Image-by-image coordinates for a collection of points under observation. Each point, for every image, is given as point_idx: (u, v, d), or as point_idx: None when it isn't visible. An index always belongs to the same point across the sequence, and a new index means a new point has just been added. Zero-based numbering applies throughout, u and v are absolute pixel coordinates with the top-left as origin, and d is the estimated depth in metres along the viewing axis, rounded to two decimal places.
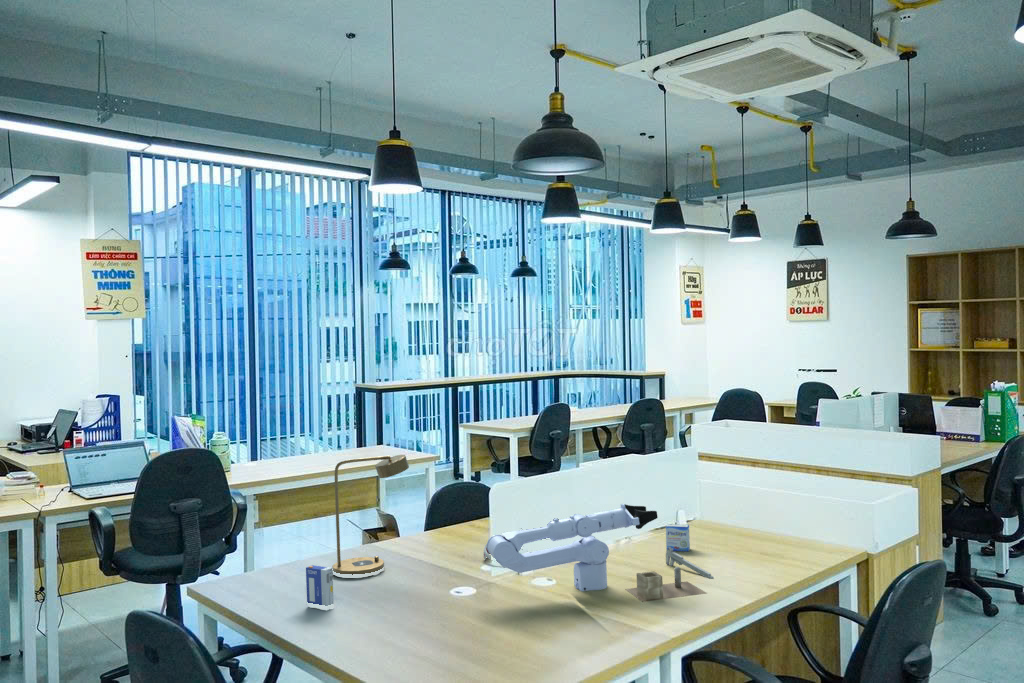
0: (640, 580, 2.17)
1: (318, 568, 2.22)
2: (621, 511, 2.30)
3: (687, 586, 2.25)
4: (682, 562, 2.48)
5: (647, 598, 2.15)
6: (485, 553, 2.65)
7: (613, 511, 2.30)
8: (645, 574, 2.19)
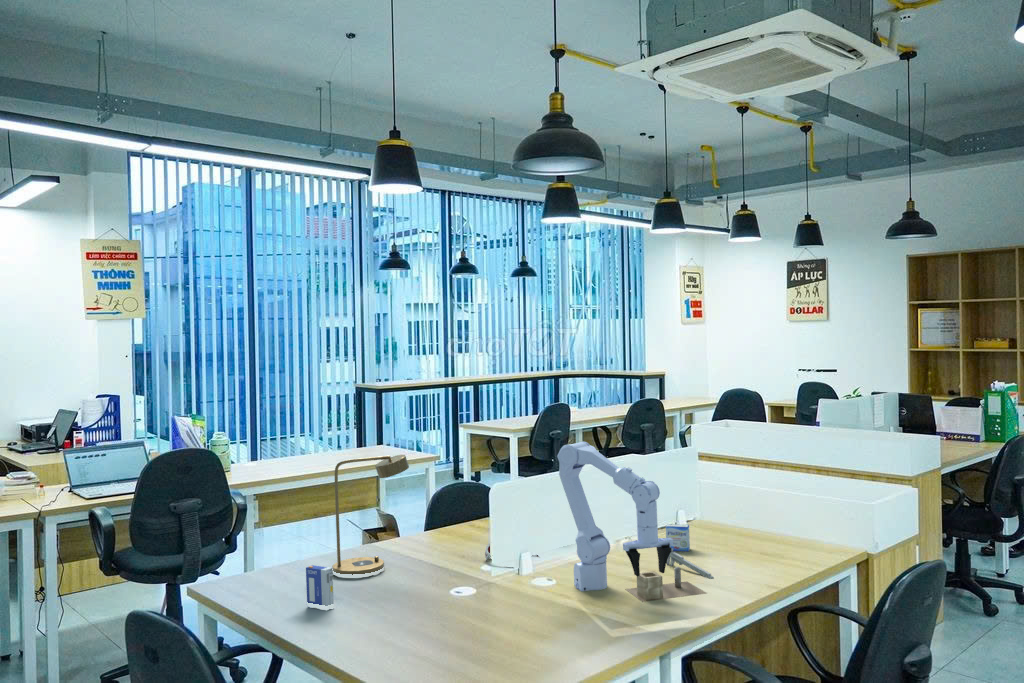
0: (640, 580, 2.17)
1: (318, 568, 2.22)
2: (646, 539, 2.15)
3: (687, 586, 2.25)
4: (682, 562, 2.48)
5: (647, 598, 2.15)
6: (487, 553, 2.65)
7: (648, 531, 2.15)
8: (645, 574, 2.19)
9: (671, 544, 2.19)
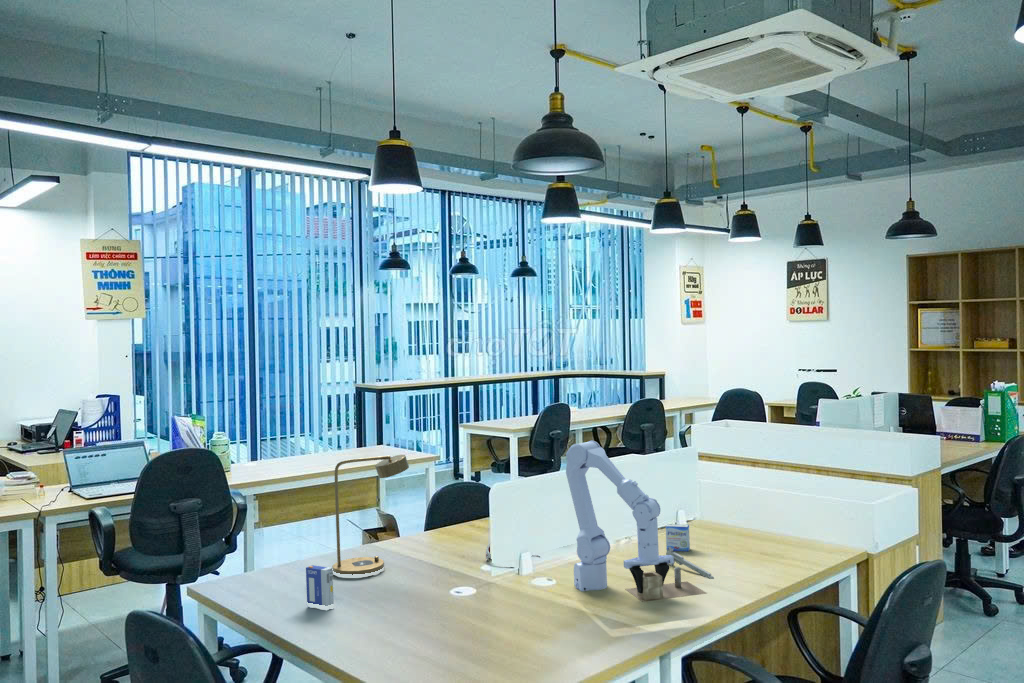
0: None
1: (318, 568, 2.22)
2: (647, 557, 2.15)
3: (687, 586, 2.25)
4: (682, 562, 2.48)
5: (647, 598, 2.15)
6: (487, 553, 2.65)
7: (648, 549, 2.15)
8: (645, 574, 2.19)
9: (672, 561, 2.19)
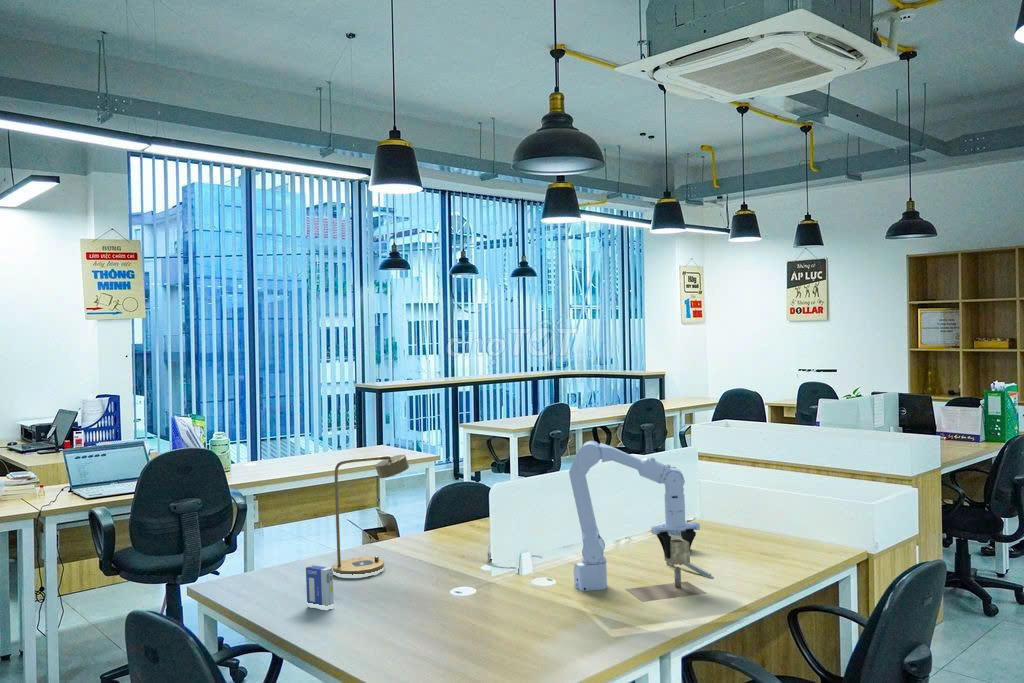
0: None
1: (318, 568, 2.22)
2: (674, 523, 2.23)
3: (687, 586, 2.25)
4: None
5: (675, 563, 2.22)
6: (489, 554, 2.64)
7: (675, 515, 2.23)
8: (672, 540, 2.27)
9: (698, 528, 2.26)
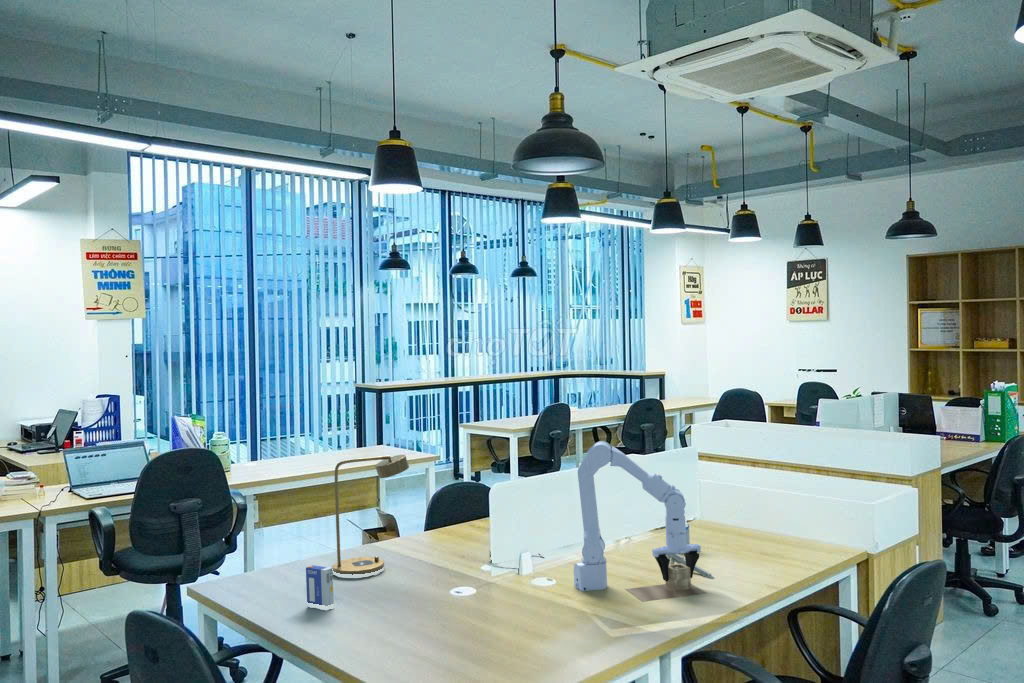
0: (668, 572, 2.24)
1: (318, 568, 2.22)
2: (675, 546, 2.22)
3: None
4: (682, 562, 2.47)
5: (676, 589, 2.22)
6: None
7: (676, 538, 2.22)
8: (673, 566, 2.27)
9: (699, 550, 2.26)
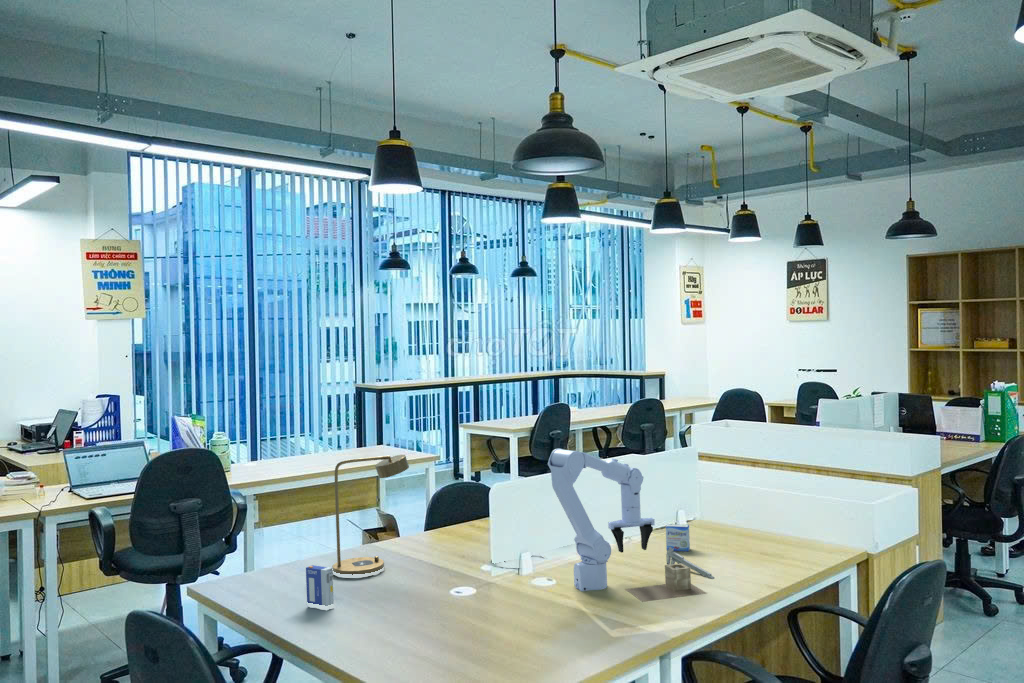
0: (668, 572, 2.24)
1: (318, 568, 2.22)
2: (629, 519, 2.35)
3: None
4: (683, 562, 2.47)
5: (676, 589, 2.22)
6: None
7: (631, 511, 2.35)
8: (673, 566, 2.27)
9: (653, 523, 2.38)
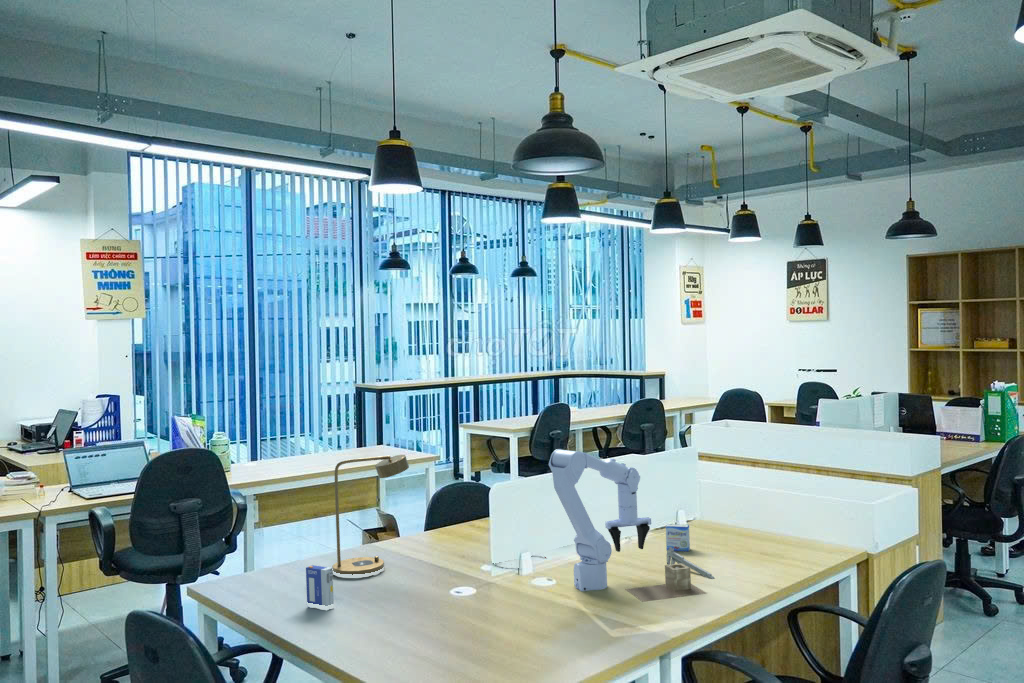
0: (668, 572, 2.24)
1: (318, 568, 2.22)
2: (626, 518, 2.36)
3: None
4: (683, 562, 2.47)
5: (676, 589, 2.22)
6: None
7: (628, 511, 2.36)
8: (673, 566, 2.27)
9: (649, 523, 2.39)
